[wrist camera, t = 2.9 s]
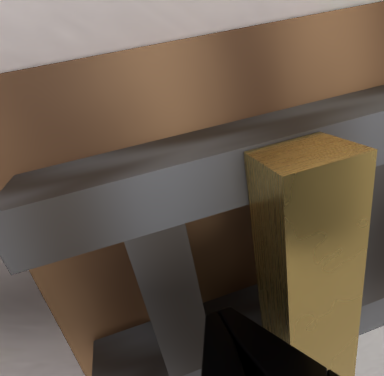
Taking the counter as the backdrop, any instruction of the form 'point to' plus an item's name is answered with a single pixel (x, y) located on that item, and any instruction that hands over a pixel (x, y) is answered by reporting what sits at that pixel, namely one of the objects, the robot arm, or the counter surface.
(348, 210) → the bar
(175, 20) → the counter surface
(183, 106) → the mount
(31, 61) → the counter surface
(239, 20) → the counter surface
